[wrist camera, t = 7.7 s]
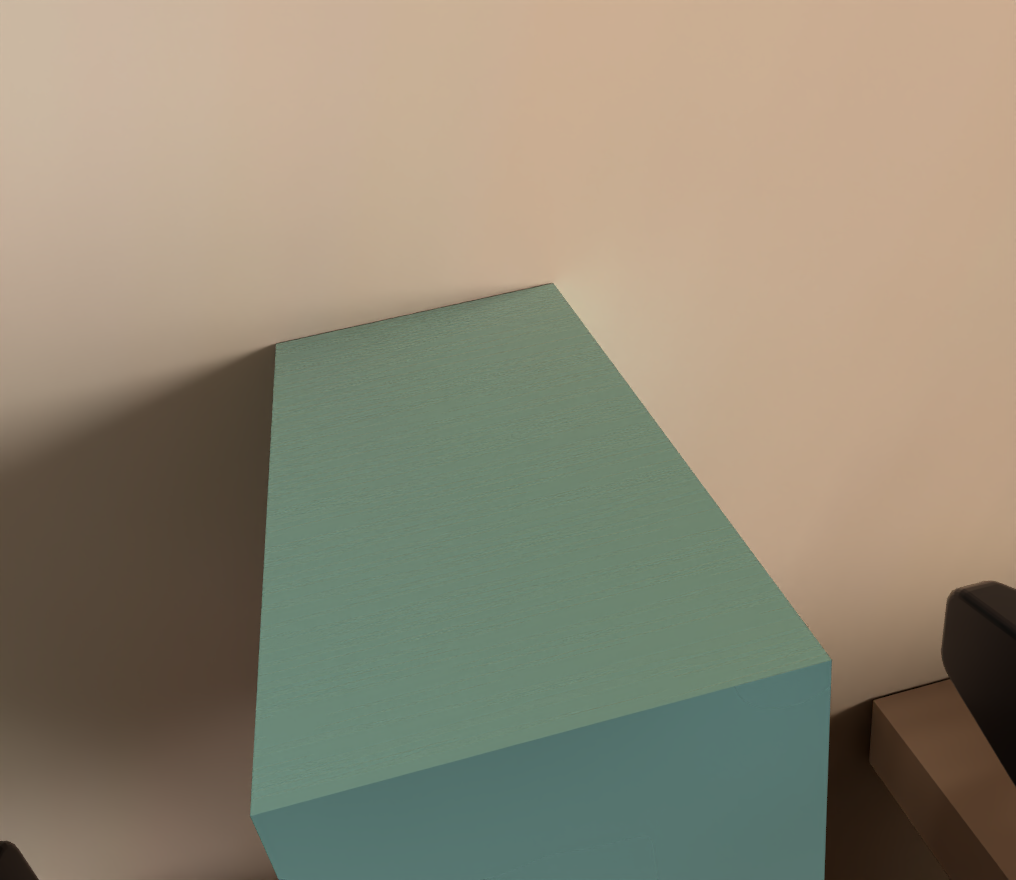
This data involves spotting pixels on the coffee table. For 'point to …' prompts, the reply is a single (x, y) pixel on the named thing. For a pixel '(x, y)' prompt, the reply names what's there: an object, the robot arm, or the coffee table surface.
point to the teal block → (516, 624)
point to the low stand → (946, 780)
